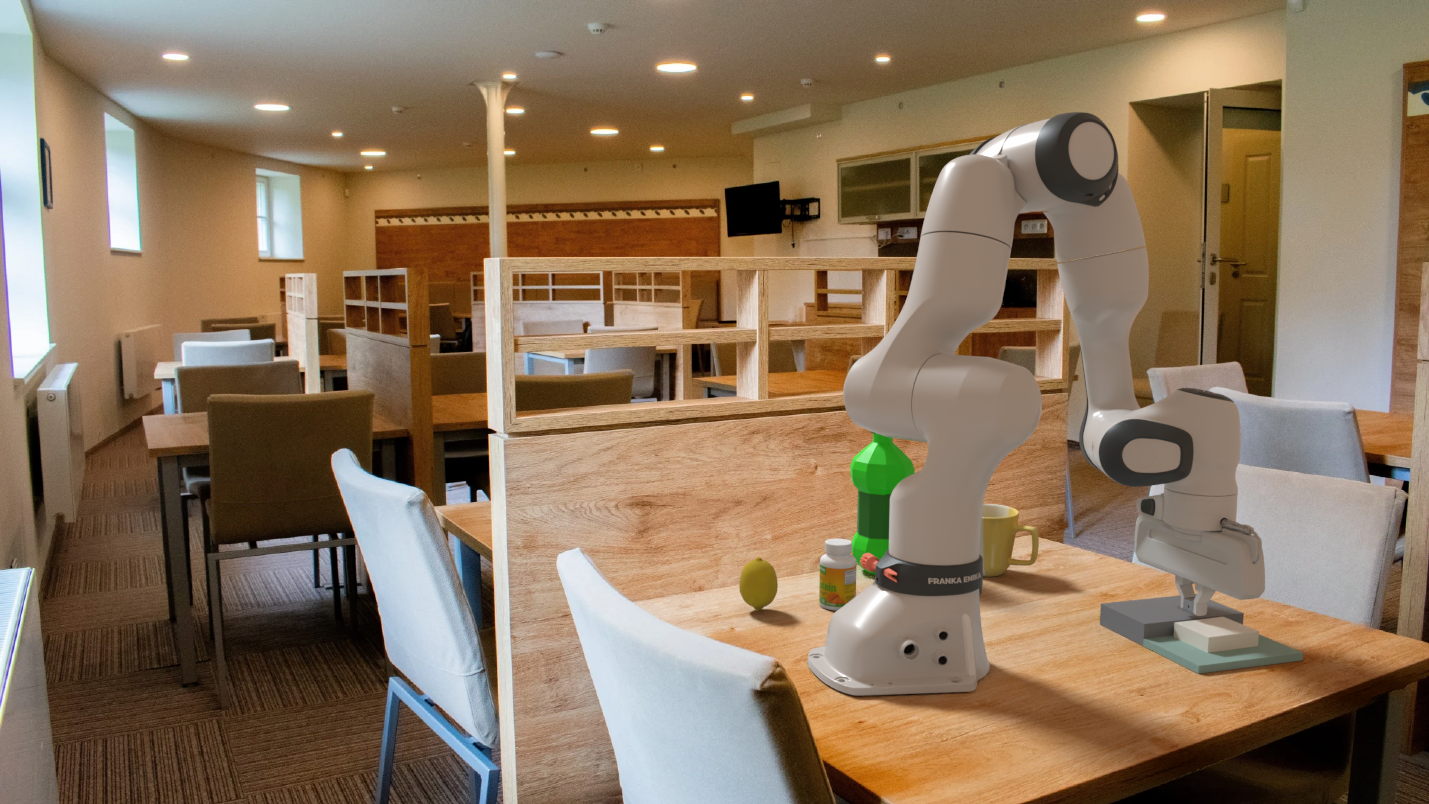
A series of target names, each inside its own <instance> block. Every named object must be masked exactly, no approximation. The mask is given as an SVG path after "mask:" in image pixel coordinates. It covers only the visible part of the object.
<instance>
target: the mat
mask: <svg viewBox="0 0 1429 804" xmlns="http://www.w3.org/2000/svg"><path fill="white" fill-rule="evenodd" d="M1142 647H1144V648H1146V649H1149V650H1151V651H1152V650H1153V651H1152V652H1154V653H1156V654H1158V655H1160V656H1163V657H1164V658H1166V659H1168V660H1170V661H1172V662H1174V663H1177V664H1178V665H1180V666H1182V667H1184V668H1186V669H1188V670H1189V671H1193V672H1194V673H1195V674H1198V675H1200V674H1205V673H1213V672H1214V673H1215V672H1222V671H1229V670H1230V671H1231V670H1238V669H1245V668H1246V669H1247V668H1253V667H1260V666H1267V665H1268V666H1269V665H1278V664H1284V663H1292V662H1293V663H1294V662H1301V661H1303V660H1304V652H1302V651H1300V650H1298V649H1296V648H1293V647H1291V646H1288V645H1285V644H1284V643H1281V642H1278V641H1276V640H1274V639H1272V638H1269V637H1267V636H1264V635H1262V634H1260V633H1259V638H1258V646H1255V647H1247V648H1240V649H1232V650H1225V651H1217V652H1210V653H1207V652H1205V651H1203V650H1200V649H1198V648H1196V647H1194V646H1192V645H1189V644H1187V643H1185V642H1183V641H1181V640H1179V639H1176V638H1174V635H1172V636H1163V637H1154V638H1146V639H1144V640H1143V646H1142Z"/></svg>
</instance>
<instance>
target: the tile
mask: <svg viewBox="0 0 1429 804" xmlns="http://www.w3.org/2000/svg"><path fill="white" fill-rule="evenodd" d="M1259 634H1260V631H1259V630H1257V629H1255V628H1252V627H1250V626H1247V625H1245V624H1244V623H1243V624H1240V623H1238V622H1235V621H1233V620H1230V619H1228V618H1225V617H1217V618H1208V619H1200V620H1192V621H1184V622H1175V623H1174V638H1176V639H1179V640H1181V641H1183V642H1185V643H1187V644H1189V645H1192V646H1194V647H1196V648H1198V649H1200V650H1203V651H1205V652H1207V653H1210V652H1217V651H1225V650H1232V649H1240V648H1247V647H1255V646H1258V638H1259Z"/></svg>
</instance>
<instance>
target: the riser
mask: <svg viewBox="0 0 1429 804" xmlns="http://www.w3.org/2000/svg"><path fill="white" fill-rule="evenodd" d="M1196 595H1197V593H1195V597H1196ZM1099 610H1100V613H1099V625H1101V626H1102V627H1104V628H1107V629H1108V630H1111V631H1112V632H1114V633H1116V634H1118V635H1120V636H1122V637H1124V638H1125V639H1128V640H1130V641H1132V642H1134V641H1135V642H1134V643H1137V644H1138V645H1140V644H1141V645H1140V646H1142V647H1144V646H1143V640H1144V639H1146V638H1154V637H1163V636H1172V635H1174V623H1175V622H1184V621H1192V620H1200V619H1208V618H1217V617H1225V618H1228V619H1230V620H1233V621H1235V622H1238V623H1240V624H1243V625H1244V615H1245V612H1242V611H1239V610H1237V609H1235V608H1232V607H1230V606H1227V605H1224V604H1222V603H1219V602H1217V601H1215V600H1213V599H1210V601H1209V602H1208V604H1207V613H1206V615H1203V616H1197V615H1194V614H1192V613H1190V612H1188V611H1185V610H1183V609H1181V597H1180V595H1173V596H1172V595H1171V596H1163V597H1153V598H1151V597H1150V598H1141V599H1132V600H1130V599H1129V600H1123V601H1112V602H1104V603H1103V602H1102V603H1100V609H1099Z"/></svg>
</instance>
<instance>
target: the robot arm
mask: <svg viewBox="0 0 1429 804" xmlns="http://www.w3.org/2000/svg"><path fill="white" fill-rule="evenodd" d="M1108 127H1109V126H1107V124H1106V123H1105V122H1104V121H1103V120H1102V119H1101V118H1099V117H1098V116H1097V115H1095V114H1093V113H1089V112H1085V111H1084V112H1081V111H1080V112H1079V111H1074V112H1064V113H1059V114H1056V115H1055V116H1054V115H1053V116H1051V118H1047V119H1041V120H1039V121H1038V120H1037V121H1034V122H1030V123H1023V124H1021V125H1018V126H1016V127H1013V128H1012V129H1011V128H1010V129H1009V130H1006V131H1005V132H1003V133H1001V134H999V135H998V136H994V137H990V138H988V139H986V140H984V141H983V142H981V143H980V144H978V146H977V147H976V146H975V148H974V149H973V150H972V151H971V152H970V153H969V154H965V155H962V156H957V157H955V158H954V159H951V160H950V161H949V162H947V164H945V165H944V166H943V168H942V169H941V171H940V173H939V175H938V177H937V178H936V182H935V184H934V187H933V190H932V193H931V195H930V199H929V201H928V205H927V209H926V212H925V215H924V220H923V224H922V228H921V233H920V237H919V238H920V239H919V244H918V249H917V250H918V251H917V253H916V259H915V264H914V267H913V273H912V277H911V281H910V286H909V290H908V294H907V297H906V300H905V303H903V306H902V308H901V311H900V313H899V314H898V316H897V318H896V320H895V322H894V323H893V325H892V326H891V327H890V330H888V332H887V333H886V335H885V336H884V337H883V338H882V340H881V341H880V342H879V343H877V344H876V346H875V347H874V348H872V349H871V350H869V352H868V353H866V354H864V355H863V356H862V357H860V358H858V359H857V360H856V361H855V362H854V363H853V364H852V365H851V367H850V369H849V370H848V373H847V375H846V377H845V379H844V380H845V381H844V382H843V383H844V384H843V389H842V390H843V391H842V392H843V393H842V395H843V403H844V407H845V410H846V414H847V415H848V417H849V419H850V420H851V421H852V423H854V424H855V426H858V427H860V428H862V429H864V430H866V431H869V432H870V431H871V432H874V433H877V434H880V435H882V436H885V437H890V438H893V439H899V440H905V441H913V442H920V443H927V455H926V459H925V462H924V465H923V466H922V468H921V470H918V471H916V472H915V473H914V474H912V475H910V476H908V477H906V478H904V479H903V480H902V481H900V482H899V483H898V484H897V486H896V487H895V488H894V490H893V491H892V494H891V496H890V512H889V549H888V550H887V551H886V553H885V555H884V556H883V557H882V558H881V559H880V560H879V559H878V558H877V557H875V556H874V555H872V554H870V553H865V554H863V555H862V556H864V557H861V558H860V559H861V560H860V562H861V564H860V565H862V567H863V568H865V569H867V570H868V571H870V572H874V571H875V575H874V576H875V577H874V580H873V582H871V584H870V585H868V586H866V587H865V588H864V589H863V590H861V592H860V593H858V594H856V597H854V598H853V599H852V600H851V601H849V602H848V603H847V604H845V605H844V606H843V607H842V608H840V609H839V610H837V611H835V612H833V614H832V616H831V619H830V621H829V624H828V628H827V633H826V639H825V645H823V646H819V647H814V648H811V649H809V652H808V654H807V655H808V656H807V665H808V667H809V669H810V670H811V672H812V673H813V674H814V675H815V676H816V677H817V678H818V679H819V680H821V681H822V682H823V683H824V684H826V685H827V686H829V687H830V688H832V689H835V690H836V691H839V692H841V693H844V694H847V695H849V696H850V695H851V696H884V695H907V694H908V695H909V694H913V695H915V694H939V693H940V694H941V693H962V692H963V693H964V692H973V691H975V690H976V689H977V687H978V682H979V681H980V679H982V678H984V677H985V676H986V675H987V674H989V673H990V669H991V665H990V663H989V659H988V655H987V652H986V646H985V642H984V636H983V628H982V626H983V625H982V618H981V605H980V597H981V596H982V591H983V590H982V589H983V580H984V576H983V558H982V556H981V555H980V532H981V519H982V509H983V504H984V501H985V497H986V496H985V495H986V492H987V489H988V486H989V483H990V481H991V479H992V477H993V475H994V472H996V470H997V468H998V466H999V465H1000V464H1001V463H1002V462H1003V460H1005V458H1006V457H1007V456H1008V455H1010V454H1011V453H1012V452H1013V451H1014V450H1016V449H1018V448H1019V447H1021V446H1022V445H1023V444H1024V443H1026V442H1027V441H1028V440H1029V439H1030V437H1032V435H1033V434H1034V432H1035V431H1036V429H1037V427H1038V425H1039V423H1040V419H1041V416H1042V412H1043V411H1042V410H1043V397H1042V392H1041V389H1040V385H1039V384H1038V381H1037V380H1036V378H1035V376H1034V375H1033V373H1032V372H1031V370H1029V369H1028V368H1026V367H1024V366H1022V365H1018V364H1016V363H1013V362H1009V361H1006V360H1001V359H999V358H998V359H997V358H994V357H991V356H977V355H975V356H974V355H964V354H963V355H962V354H961V355H960V354H956V352H957V350H958V348H959V346H960V345H961V344H962V342H963V341H964V340H965V339H966V338H967V337H968V336H969V334H971V333H972V332H973V331H975V330H976V329H977V330H978V328H981V327H982V326H984V325H986V324H988V323H989V322H991V321H992V320H993V319H994V318H995V317H996V316H997V314H998V312H999V311H1000V309H1001V307H1002V304H1003V299H1004V298H1003V297H1004V292H1005V288H1006V282H1007V281H1006V280H1007V275H1008V271H1009V264H1010V260H1011V258H1010V257H1011V255H1012V254H1011V252H1012V247H1013V240H1014V234H1015V233H1014V232H1015V223H1016V220H1017V217H1018V216H1019V215H1021V214H1027V213H1028V214H1029V213H1032V212H1037V213H1038V212H1043V214H1044V216H1045V217H1046V219H1047V220H1048V222H1049V223H1050V225H1051V227H1052V229H1053V239H1054V249H1055V250H1054V251H1055V257H1056V258H1055V259H1056V263H1057V269H1058V275H1059V279H1060V284H1061V288H1062V292H1063V295H1064V299H1065V302H1066V305H1067V308H1068V310H1069V313H1070V316H1071V319H1072V322H1073V325H1074V328H1075V330H1076V334H1077V337H1078V343H1079V349H1080V356H1081V363H1082V369H1083V370H1082V371H1083V378H1084V385H1085V393H1086V405H1085V406H1086V407H1085V411H1084V415H1083V417H1082V421H1081V425H1080V428H1079V429H1080V430H1079V434H1078V439H1079V440H1078V443H1079V448H1080V451H1081V453H1082V455H1083V457H1084V458H1085V460H1086V461H1087V462H1088V464H1089V465H1091V467H1093V468H1094V469H1096V470H1098V471H1099V472H1102V473H1103V474H1104V475H1105V476H1107V477H1108V478H1109V479H1111V480H1112V481H1113V482H1115V483H1117V484H1119V485H1122V486H1125V487H1132V488H1140V487H1142V488H1143V487H1149V486H1151V487H1153V486H1158V485H1163V487H1164V488H1163V493H1160V494H1155V495H1149V496H1142V497H1138V498H1137V500H1136V510H1137V511H1136V512H1138V513H1139V515H1138V516H1137V518H1136V522H1135V528H1134V530H1135V531H1134V553H1135V555H1136V556H1135V557H1136V558H1137V560H1138V562H1140V563H1143V564H1146V565H1148V566H1151V567H1153V568H1155V569H1157V570H1161V571H1164V572H1166V573H1168V574H1171V575H1174V584H1175V585H1176V586H1175V587H1176V588H1177V591H1178V594H1179V596H1180V597H1181V609H1183V610H1185V611H1188V612H1190V613H1192V614H1194V615H1197V616H1203V615H1206V613H1207V604H1208V602H1209V601H1210V600H1212V598H1213V596H1214V595H1215V594H1216V592H1218V593H1221V594H1224V595H1226V596H1229V597H1232V598H1234V599H1237V600H1240V601H1244V600H1245V601H1246V600H1253V599H1259V598H1260V597H1261V596H1262V595H1263V594H1264V593H1265V591H1266V567H1265V555H1264V550H1263V541H1262V538H1261V537H1260V536H1259V534H1258V533H1257V532H1256V531H1255V528H1254V527H1252V526H1251V525H1248V524H1244V523H1240V522H1238V521H1237V510H1238V493H1239V489H1238V484H1237V480H1236V473H1237V468H1238V466H1239V463H1240V459H1241V435H1242V434H1241V418H1240V412H1239V408H1238V405H1237V404H1236V403H1235V402H1234V400H1233V399H1232V398H1230V397H1228V396H1226V395H1224V394H1221V393H1217V392H1213V391H1209V390H1205V389H1200V388H1194V387H1180V388H1177V389H1176V390H1174V391H1173V392H1172V393H1171V394H1169V395H1167V396H1166V397H1164V398H1161V400H1159V401H1156V402H1155V403H1152V404H1149V405H1147V406H1144V407H1141V406H1140V405H1139V402H1138V400H1137V399H1136V395H1135V389H1134V388H1135V387H1134V381H1133V379H1134V378H1133V373H1132V372H1133V371H1132V364H1131V357H1130V356H1131V354H1130V344H1129V343H1130V342H1129V341H1130V340H1129V339H1130V332H1131V330H1132V326H1133V323H1134V322H1135V319H1136V318H1137V316H1138V315H1139V313H1140V311H1141V310H1142V309H1143V307H1144V305H1145V304H1146V302H1147V300H1148V298H1149V288H1150V287H1149V285H1150V268H1149V266H1150V265H1149V257H1148V250H1147V244H1146V237H1145V234H1144V229H1143V224H1142V219H1141V216H1140V214H1139V213H1140V212H1139V209H1138V207H1137V204H1136V203H1137V202H1136V201H1135V197H1134V195H1133V192H1132V189H1131V187H1130V185H1129V183H1128V180H1127V179H1126V178H1125V176H1123V175H1122V174H1121V173H1119V153H1118V148H1117V144H1116V141H1115V137H1114V136H1113V134H1112V132H1111V130H1110V129H1109V128H1108ZM871 432H870V433H871ZM1193 585H1194V587H1193ZM1194 590H1195V591H1196V592H1197V593H1195V591H1194ZM1195 594H1197V595H1196V597H1195Z"/></svg>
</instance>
